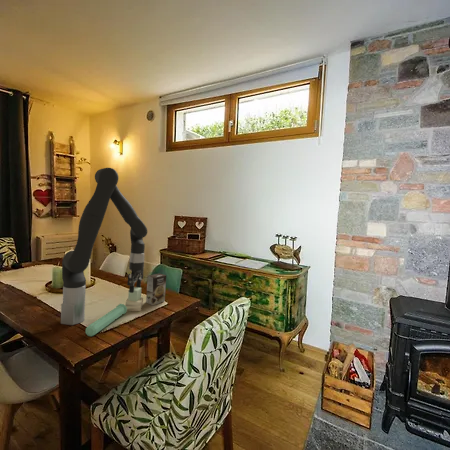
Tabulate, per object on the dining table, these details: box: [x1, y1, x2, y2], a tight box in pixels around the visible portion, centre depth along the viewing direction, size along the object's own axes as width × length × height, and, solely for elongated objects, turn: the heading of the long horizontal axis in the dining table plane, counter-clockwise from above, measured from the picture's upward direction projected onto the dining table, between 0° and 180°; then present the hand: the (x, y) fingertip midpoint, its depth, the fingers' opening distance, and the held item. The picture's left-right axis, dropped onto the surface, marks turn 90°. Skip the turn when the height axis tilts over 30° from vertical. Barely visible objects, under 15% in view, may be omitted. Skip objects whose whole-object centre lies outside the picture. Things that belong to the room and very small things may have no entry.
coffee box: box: [145, 273, 167, 306], centre depth 156 cm, size 9×6×16 cm
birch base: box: [124, 296, 144, 312], centre depth 146 cm, size 8×8×5 cm
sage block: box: [127, 286, 143, 302], centre depth 145 cm, size 5×5×6 cm
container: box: [85, 303, 128, 337], centre depth 125 cm, size 6×6×25 cm
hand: (135, 289), depth 145 cm, fingers open, 8 cm apart
